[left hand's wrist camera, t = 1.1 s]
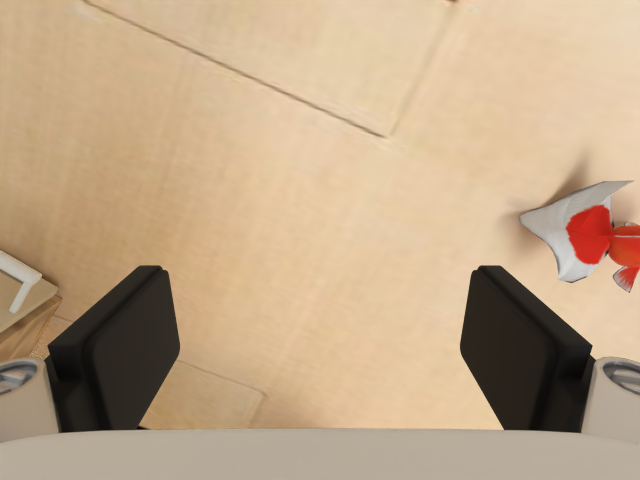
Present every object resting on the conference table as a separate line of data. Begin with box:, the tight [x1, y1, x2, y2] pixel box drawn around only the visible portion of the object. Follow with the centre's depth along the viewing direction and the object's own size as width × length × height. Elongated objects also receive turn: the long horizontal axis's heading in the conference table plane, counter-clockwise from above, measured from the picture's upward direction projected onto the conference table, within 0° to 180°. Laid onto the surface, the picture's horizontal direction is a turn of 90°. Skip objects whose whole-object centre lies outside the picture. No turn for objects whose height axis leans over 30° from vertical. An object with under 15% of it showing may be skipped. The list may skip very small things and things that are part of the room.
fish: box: [519, 181, 640, 293], centre depth 37 cm, size 11×16×10 cm
